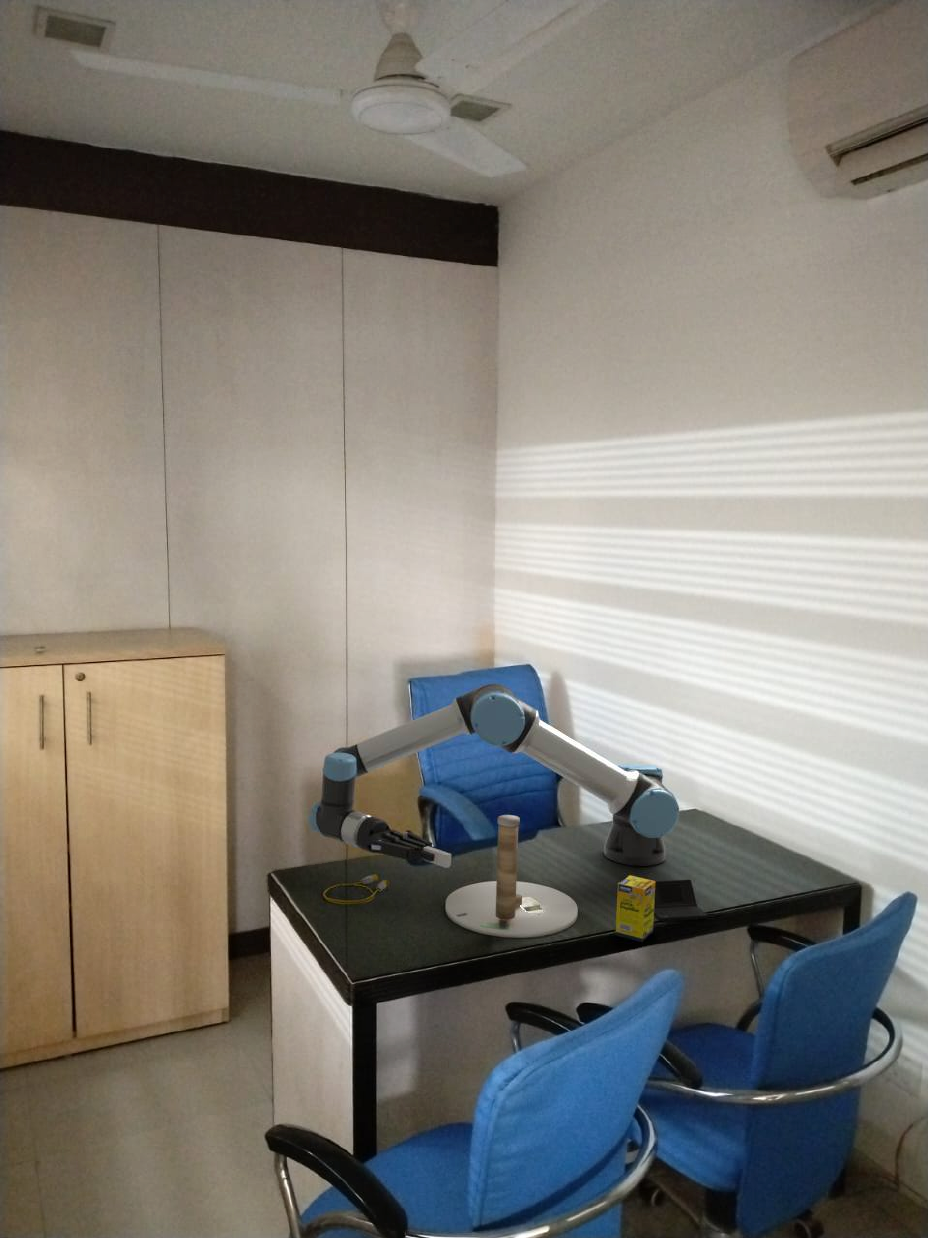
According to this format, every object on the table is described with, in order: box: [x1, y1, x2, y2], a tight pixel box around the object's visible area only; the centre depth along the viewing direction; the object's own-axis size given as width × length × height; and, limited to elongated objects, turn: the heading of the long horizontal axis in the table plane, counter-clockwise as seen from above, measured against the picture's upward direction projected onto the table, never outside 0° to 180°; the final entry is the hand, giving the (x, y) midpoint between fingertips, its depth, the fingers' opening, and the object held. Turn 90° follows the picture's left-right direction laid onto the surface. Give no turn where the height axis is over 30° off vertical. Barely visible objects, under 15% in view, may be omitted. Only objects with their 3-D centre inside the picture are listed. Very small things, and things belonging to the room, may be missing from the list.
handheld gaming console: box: [654, 879, 708, 923], centre depth 214 cm, size 12×7×10 cm
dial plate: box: [445, 880, 579, 939], centre depth 213 cm, size 28×28×1 cm
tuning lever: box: [496, 814, 522, 928], centre depth 206 cm, size 16×4×21 cm, turn 170°
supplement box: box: [614, 875, 656, 943], centre depth 202 cm, size 6×6×11 cm
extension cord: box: [322, 874, 390, 905], centre depth 220 cm, size 12×16×2 cm
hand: (448, 861), depth 212 cm, fingers closed
